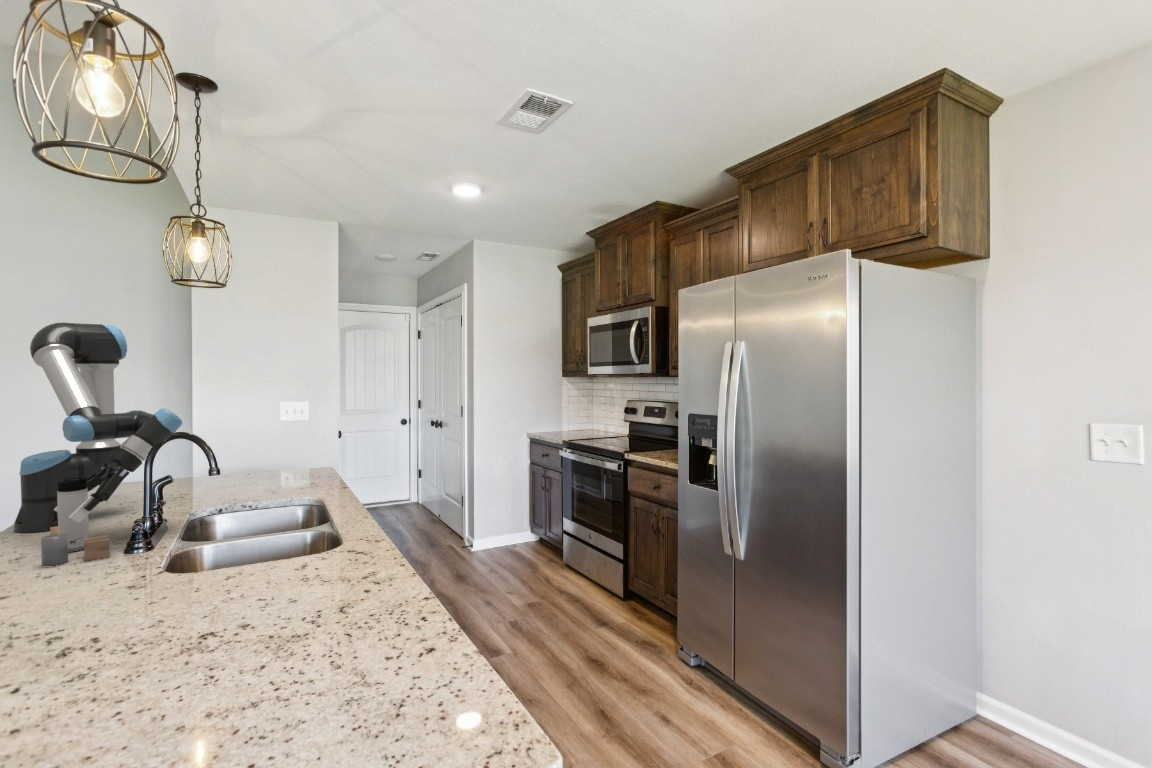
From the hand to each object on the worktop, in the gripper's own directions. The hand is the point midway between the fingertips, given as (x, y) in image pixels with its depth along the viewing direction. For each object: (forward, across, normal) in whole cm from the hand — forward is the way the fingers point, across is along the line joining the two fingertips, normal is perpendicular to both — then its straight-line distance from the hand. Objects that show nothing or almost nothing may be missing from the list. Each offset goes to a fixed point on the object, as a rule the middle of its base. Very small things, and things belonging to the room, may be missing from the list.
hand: (65, 516), depth 154 cm
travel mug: (+6, +1, -8) cm, 10 cm away
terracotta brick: (+5, +13, -9) cm, 17 cm away
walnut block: (+5, -13, -9) cm, 16 cm away
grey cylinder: (+10, -10, -4) cm, 15 cm away
